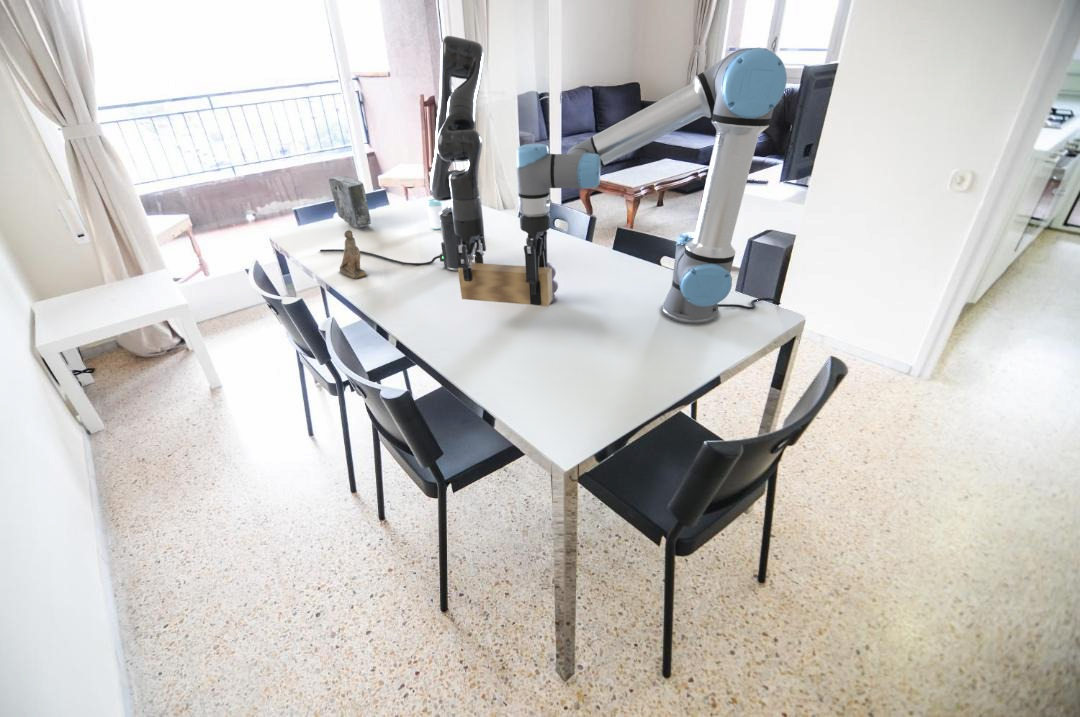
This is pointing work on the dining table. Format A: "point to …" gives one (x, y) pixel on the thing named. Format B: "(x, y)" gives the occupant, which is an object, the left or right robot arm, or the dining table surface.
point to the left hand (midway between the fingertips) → (474, 274)
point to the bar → (504, 284)
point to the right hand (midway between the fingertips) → (538, 299)
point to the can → (435, 213)
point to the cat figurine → (553, 281)
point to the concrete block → (350, 200)
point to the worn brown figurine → (351, 258)
